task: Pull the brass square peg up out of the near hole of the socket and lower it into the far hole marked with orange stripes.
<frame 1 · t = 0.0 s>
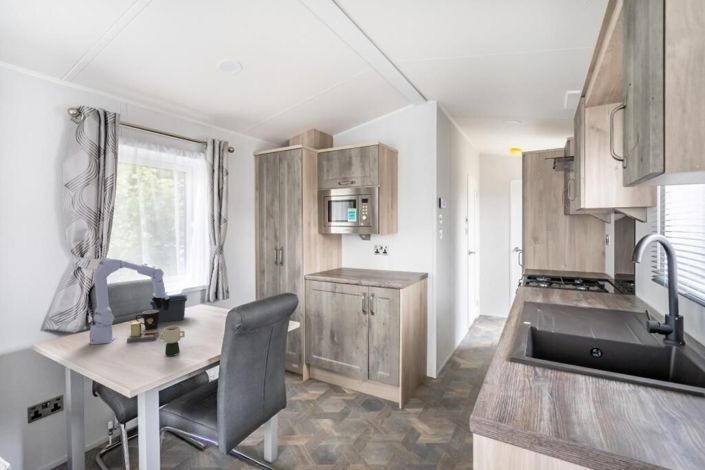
hand: (163, 308, 214), 11 cm above the table, tool pointing down, fingers open, 7 cm apart
socket: (143, 338, 192), on the table
storage bin: (169, 319, 228), on the table
brass peg: (136, 339, 191), resting in socket
beige trophy cup: (172, 355, 170), on the table
coffee mug: (149, 328, 210), on the table
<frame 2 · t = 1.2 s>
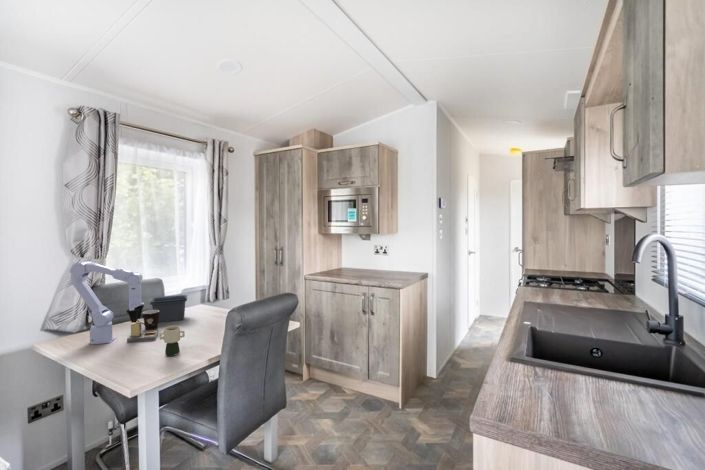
hand: (136, 320, 191), 10 cm above the table, tool pointing down, fingers open, 7 cm apart
nothing on the table moved.
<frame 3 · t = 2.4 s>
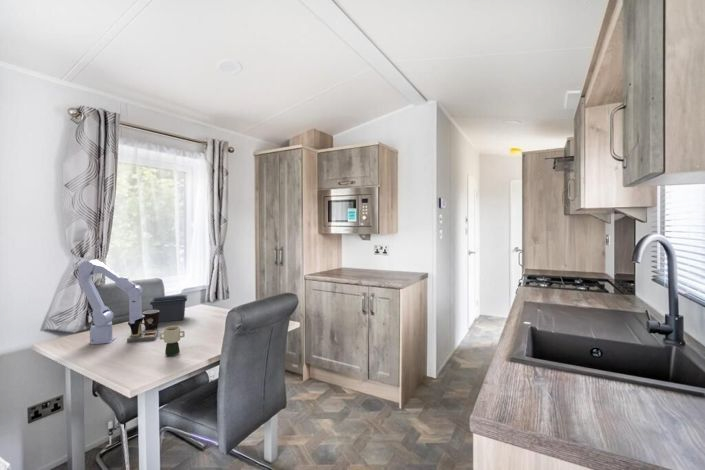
hand: (136, 333, 191), 3 cm above the table, tool pointing down, fingers closed on brass peg, 4 cm apart
brass peg: (136, 339, 191), resting in socket, touching gripper
everything else where it was.
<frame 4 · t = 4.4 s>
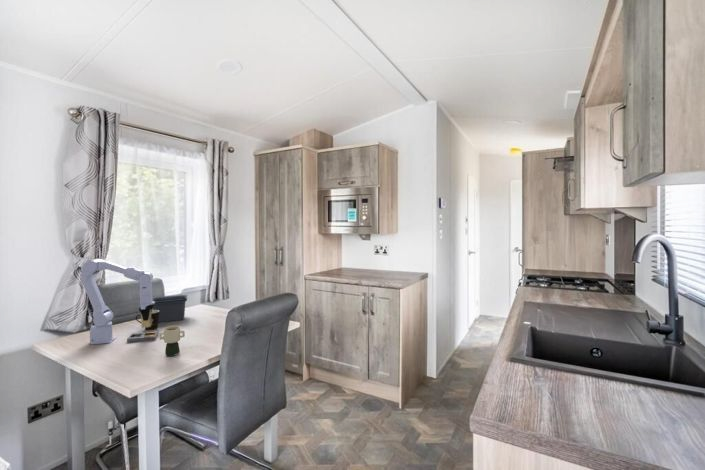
hand: (146, 319, 192), 11 cm above the table, tool pointing down, fingers closed on brass peg, 4 cm apart
brass peg: (146, 326, 192), point 7 cm above the table, touching gripper
everything else where it was.
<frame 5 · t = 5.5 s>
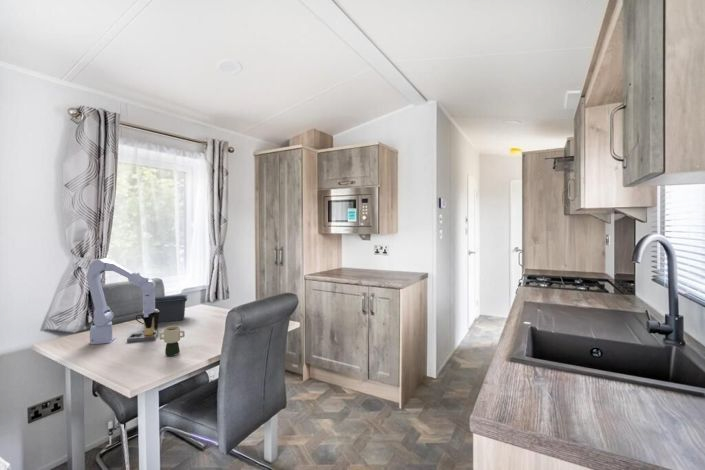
hand: (149, 326, 193), 6 cm above the table, tool pointing down, fingers closed on brass peg, 4 cm apart
brass peg: (149, 333, 193), point 2 cm above the table, touching gripper
everything else where it was.
when the fingers open (4 cm above the table, at t = 6.4 s): brass peg stays where it is, resting in socket.
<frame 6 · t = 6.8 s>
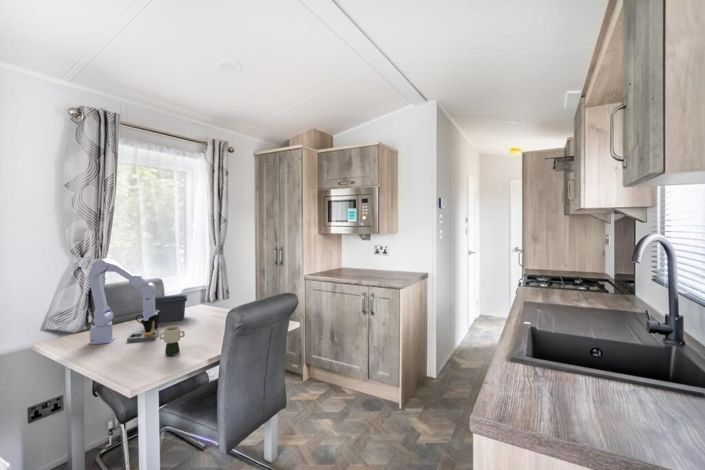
hand: (149, 330, 193), 4 cm above the table, tool pointing down, fingers open, 7 cm apart
brass peg: (149, 338, 193), resting in socket
everything else where it was.
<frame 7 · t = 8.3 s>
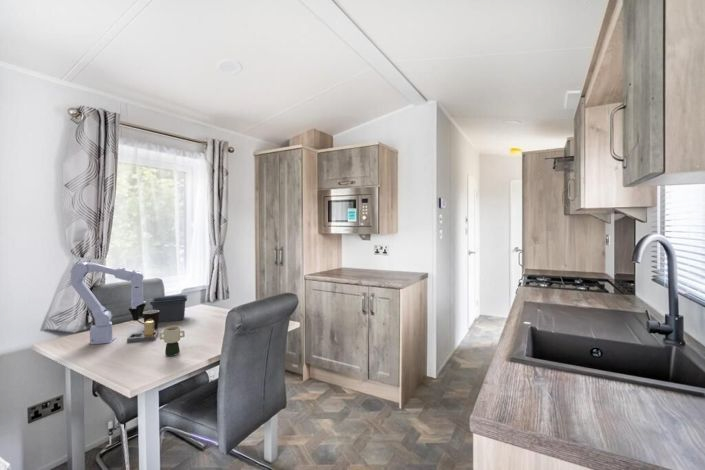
hand: (138, 318, 194), 10 cm above the table, tool pointing down, fingers open, 7 cm apart
nothing on the table moved.
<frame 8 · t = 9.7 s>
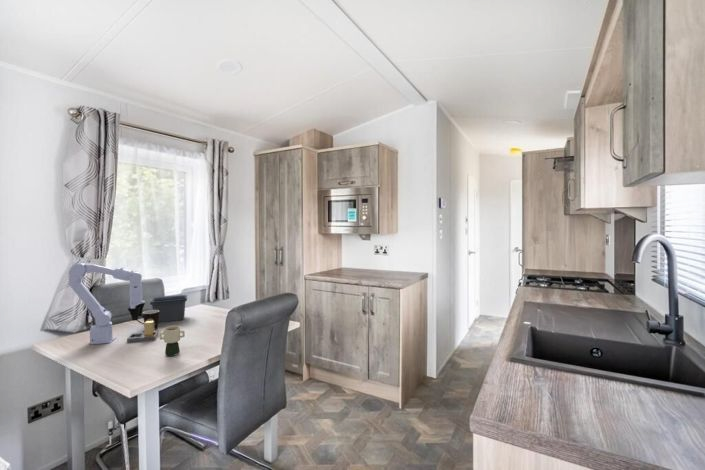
hand: (137, 318, 194), 10 cm above the table, tool pointing down, fingers open, 7 cm apart
nothing on the table moved.
at the end: brass peg 0.1 cm from the target spot on the socket, point 0.0 cm above the socket's base; brass peg tilted 0°; the gripper is holding nothing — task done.
